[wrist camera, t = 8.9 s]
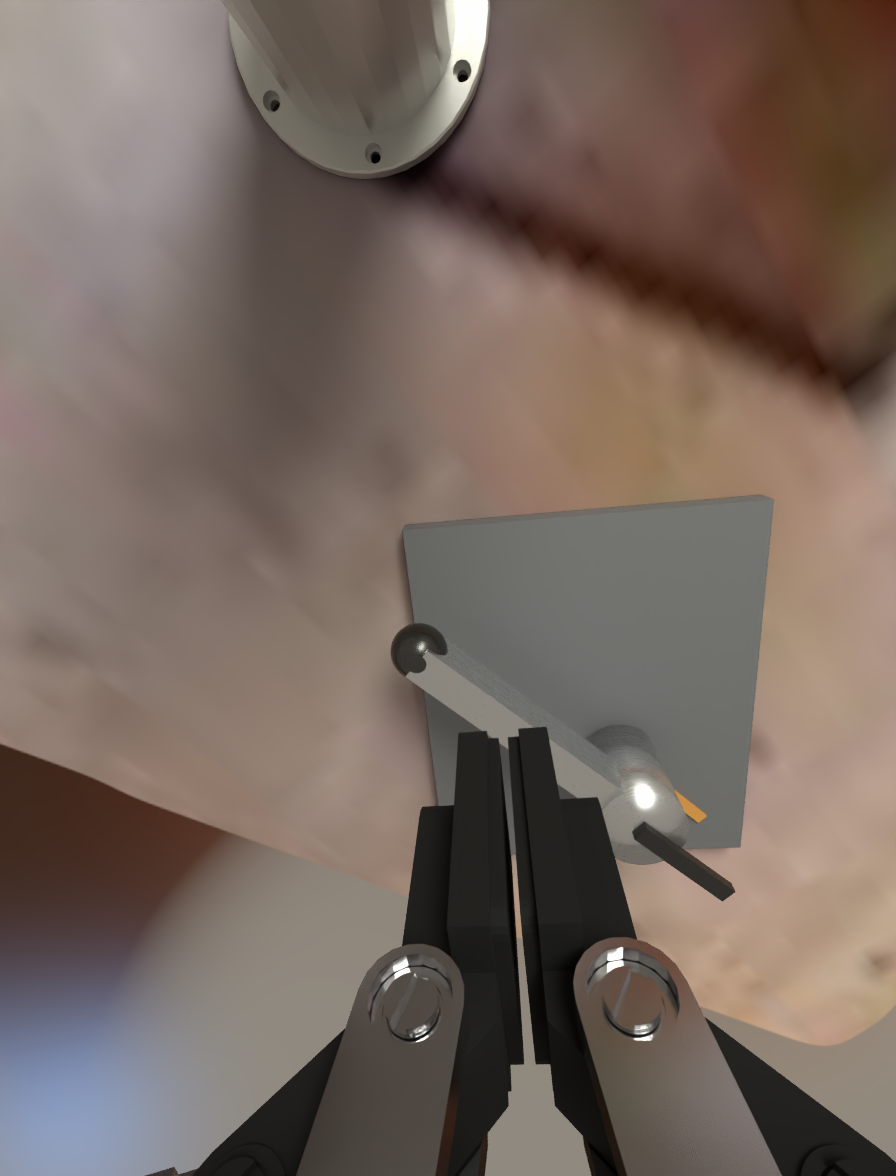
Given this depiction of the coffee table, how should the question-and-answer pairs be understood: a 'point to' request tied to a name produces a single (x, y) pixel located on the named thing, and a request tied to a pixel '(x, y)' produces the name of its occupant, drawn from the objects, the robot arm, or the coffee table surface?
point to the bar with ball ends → (566, 753)
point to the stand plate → (611, 633)
